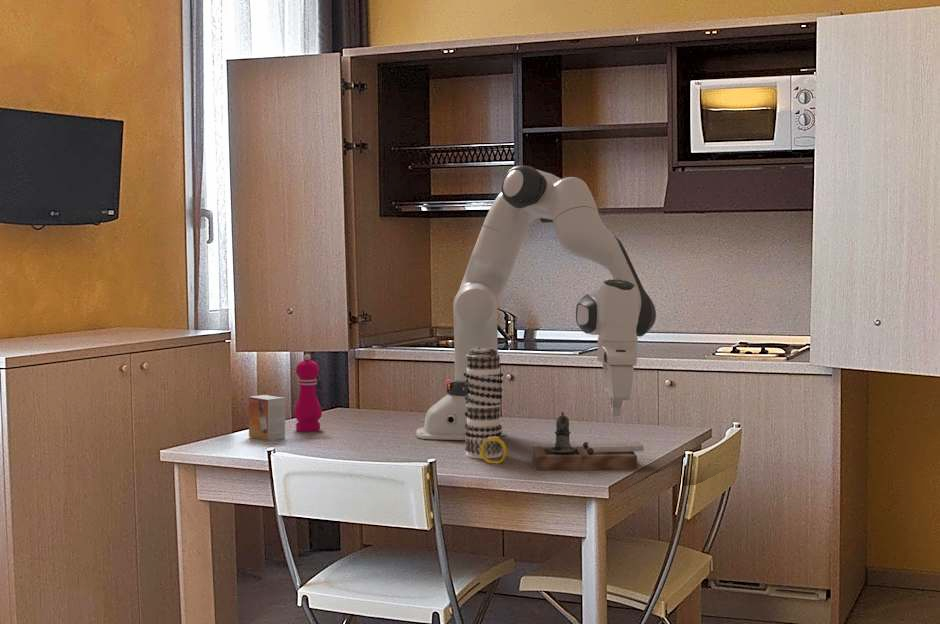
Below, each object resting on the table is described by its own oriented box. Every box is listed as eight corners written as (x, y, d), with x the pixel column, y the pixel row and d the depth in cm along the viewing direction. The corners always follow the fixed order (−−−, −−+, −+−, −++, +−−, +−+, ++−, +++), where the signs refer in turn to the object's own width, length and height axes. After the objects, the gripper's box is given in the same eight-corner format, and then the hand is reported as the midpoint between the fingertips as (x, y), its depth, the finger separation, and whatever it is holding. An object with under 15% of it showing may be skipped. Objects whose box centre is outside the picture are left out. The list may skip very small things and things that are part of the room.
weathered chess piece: (576, 463, 271) (576, 410, 271) (575, 467, 265) (575, 413, 265) (550, 463, 272) (549, 410, 271) (548, 467, 266) (548, 413, 265)
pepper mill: (289, 431, 315) (288, 355, 314) (303, 427, 322) (302, 352, 321) (313, 432, 313) (312, 356, 311) (326, 428, 319) (326, 353, 318)
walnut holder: (536, 470, 264) (536, 450, 263) (532, 459, 276) (532, 440, 275) (636, 469, 264) (637, 449, 264) (628, 459, 276) (628, 440, 276)
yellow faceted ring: (479, 464, 272) (478, 438, 272) (484, 462, 275) (483, 436, 275) (504, 464, 270) (502, 438, 270) (509, 462, 272) (507, 436, 272)
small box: (248, 437, 306) (247, 396, 305) (266, 434, 310) (265, 394, 309) (268, 441, 300) (267, 399, 300) (285, 438, 305) (285, 397, 304)
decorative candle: (500, 459, 276) (500, 350, 274) (460, 458, 278) (460, 350, 276) (506, 452, 285) (506, 346, 283) (467, 451, 287) (467, 346, 285)
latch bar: (589, 452, 267) (589, 447, 267) (586, 448, 272) (586, 443, 272) (643, 451, 267) (643, 445, 267) (639, 447, 272) (639, 441, 272)
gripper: (598, 348, 278) (596, 407, 279) (608, 358, 258) (606, 422, 259) (625, 348, 278) (623, 408, 279) (637, 358, 258) (636, 422, 259)
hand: (615, 415), depth 269 cm, fingers closed
